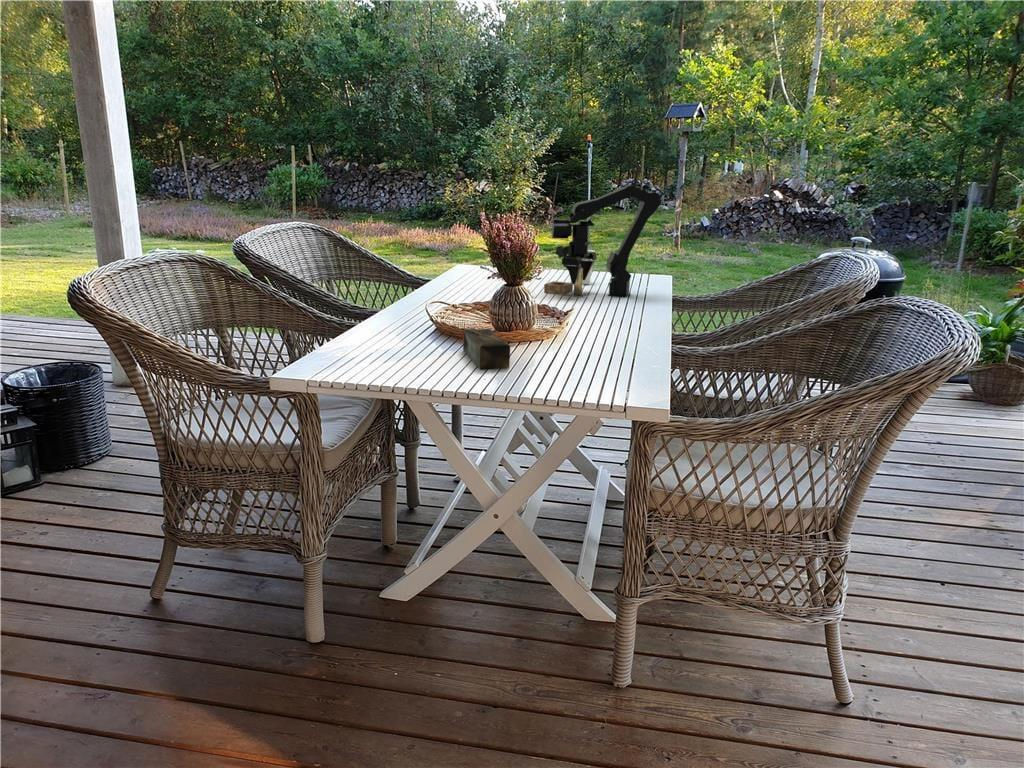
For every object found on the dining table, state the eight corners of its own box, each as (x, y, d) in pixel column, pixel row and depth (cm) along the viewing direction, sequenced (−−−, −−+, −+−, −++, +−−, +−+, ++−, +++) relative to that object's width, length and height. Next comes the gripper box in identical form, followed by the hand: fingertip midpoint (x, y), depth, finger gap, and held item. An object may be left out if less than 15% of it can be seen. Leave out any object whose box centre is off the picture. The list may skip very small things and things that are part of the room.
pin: (583, 294, 275) (584, 267, 272) (579, 296, 272) (581, 268, 269) (575, 294, 276) (576, 267, 273) (572, 295, 274) (573, 268, 271)
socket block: (572, 292, 281) (572, 283, 280) (563, 295, 274) (564, 286, 273) (553, 290, 285) (553, 281, 284) (544, 293, 278) (544, 284, 277)
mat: (589, 295, 276) (589, 294, 276) (581, 298, 270) (581, 297, 270) (571, 293, 279) (571, 292, 279) (563, 296, 273) (563, 295, 273)
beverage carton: (491, 349, 202) (491, 325, 200) (511, 369, 184) (511, 343, 182) (462, 351, 200) (462, 327, 198) (479, 371, 182) (479, 345, 180)
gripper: (570, 234, 280) (568, 276, 284) (548, 239, 264) (547, 283, 269) (598, 236, 275) (596, 279, 279) (577, 241, 259) (576, 286, 264)
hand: (578, 282), depth 273 cm, fingers open, 9 cm apart
